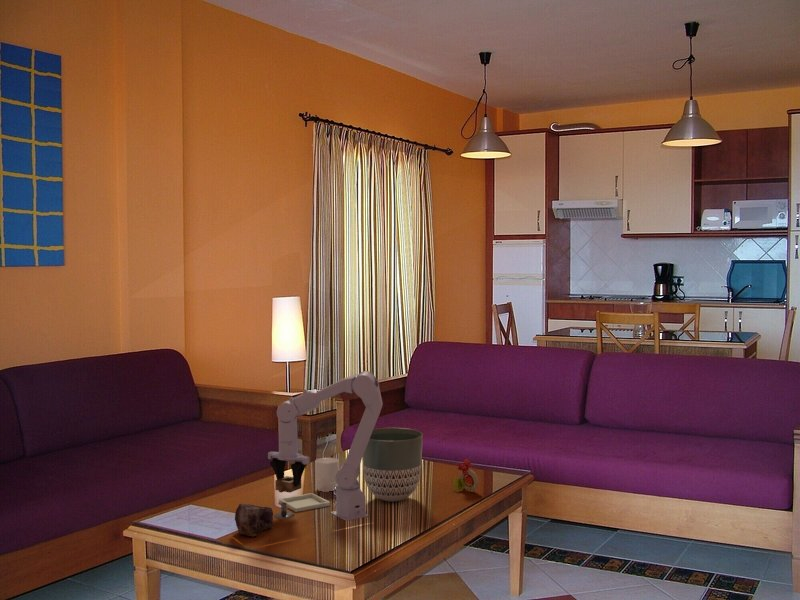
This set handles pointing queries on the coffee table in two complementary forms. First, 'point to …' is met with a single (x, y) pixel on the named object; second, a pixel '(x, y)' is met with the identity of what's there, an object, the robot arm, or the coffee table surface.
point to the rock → (253, 519)
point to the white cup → (326, 473)
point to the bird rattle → (467, 482)
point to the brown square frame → (286, 485)
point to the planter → (393, 463)
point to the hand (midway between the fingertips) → (288, 484)
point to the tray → (304, 502)
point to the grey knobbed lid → (283, 513)
